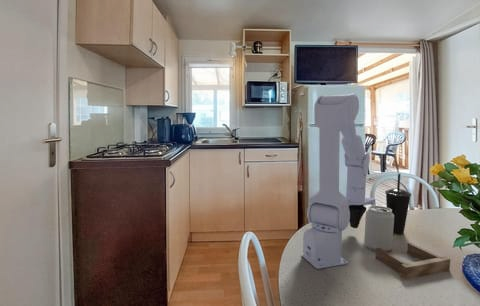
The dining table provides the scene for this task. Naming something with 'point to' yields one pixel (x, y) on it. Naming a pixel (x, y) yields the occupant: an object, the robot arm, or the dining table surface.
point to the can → (379, 228)
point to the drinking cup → (398, 206)
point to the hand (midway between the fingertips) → (354, 227)
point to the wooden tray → (415, 269)
